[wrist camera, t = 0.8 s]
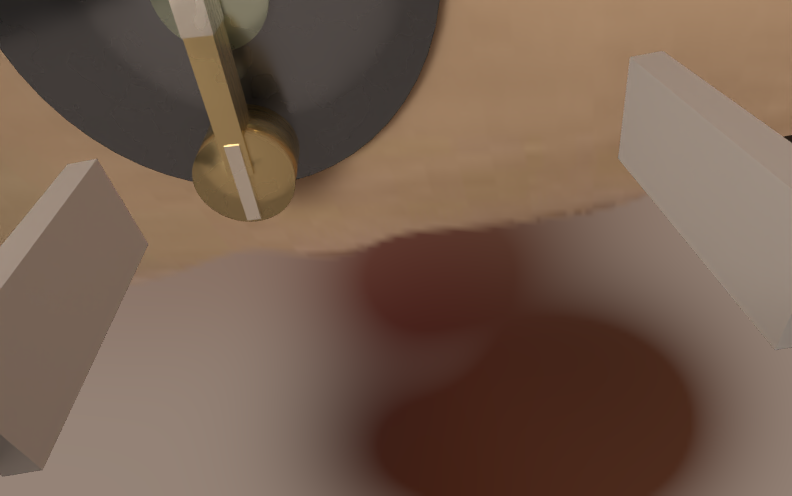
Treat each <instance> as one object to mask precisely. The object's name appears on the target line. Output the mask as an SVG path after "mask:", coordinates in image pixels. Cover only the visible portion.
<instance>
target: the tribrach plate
mask: <svg viewBox="0 0 792 496" xmlns="http://www.w3.org/2000/svg"><path fill="white" fill-rule="evenodd" d="M219 2H220V6H221V9H222V13H223V17H224V19H223V21H224V25H225V29H226V32H227V36H228V39H229V43H230V47H231V50H232V54H233V57H234V61H235V65H236V68H237V72H238V75H239V79H240V83H241V86H242V90H243V93H244V97H245V101H246V104H253V105H259V106H263V107H266V108H269V109H271V110H273V111H275V112H276V113H278V114H279V115H281V116H282V117H283V118H284V119H285V120H287V121H288V123H289V124H290V125H291V126H292V128H293V129H294V131H295V133H296V135H297V138H298V141H299V147H300V153H299V160H298V168H297V176H296V179H299V178H303V177H306V176H309V175H312V174H315V173H317V172H319V171H322V170H324V169H326V168H329V167H331V166H333V165H335V164H337V163H338V162H340V161H342V160H343V159H345V158H347V157H348V156H350V155H352V154H353V153H355V152H356V151H357V150H359V149H360V148H361V147H362V146H364V145H365V144H366V143H368V142H369V141H370V140H371V139H372V138H373V137H374V136H375V135H376V134H377V133H378V132H379V131H380V130H381V129H382V128H383V127H384V126H385V125H386V124H387V123H388V122H389V121H390V120H391V118H392V117H393V116H394V115H395V113H396V112H397V111H398V109H399V108H400V107H401V105H402V104H403V103H404V101H405V100H406V98H407V96H408V94H409V93H410V91H411V89H412V87H413V86H414V84H415V82H416V81H417V78H418V76H419V74H420V71H421V69H422V67H423V64H424V62H425V60H426V57H427V55H428V51H429V48H430V44H431V41H432V37H433V34H434V30H435V26H436V20H437V13H438V7H439V0H219ZM0 49H1V50H2V52H3V53H4V54H5V56H6V57H7V58H8V60H9V61H10V62H11V64H12V65H13V66H14V67H15V69H16V70H17V71H18V73H19V74H20V75H21V76H22V77H23V78H24V79H25V80H26V81H27V82H28V83H29V85H30V86H31V87H32V88H33V89H34V90H35V91H36V92H37V93H38V94H39V95H40V96H41V97H42V98H43V99H44V100H45V101H46V102H47V103H48V104H49V105H50V106H52V107H53V108H54V109H55V110H56V111H57V112H58V113H59V114H61V115H62V116H63V117H64V118H65V119H66V120H68V121H69V122H70V123H72V124H73V125H74V126H76V127H77V128H78V129H80V130H81V131H82V132H84V133H85V134H86V135H88V136H89V137H91V138H92V139H94V140H95V141H97V142H99V143H100V144H102V145H104V146H105V147H107V148H109V149H110V150H112V151H114V152H115V153H117V154H119V155H121V156H123V157H125V158H127V159H130V160H132V161H134V162H136V163H138V164H140V165H142V166H145V167H147V168H150V169H153V170H155V171H158V172H161V173H163V174H166V175H170V176H173V177H177V178H181V179H185V180H189V181H192V182H193V178H192V168H193V163H194V161H195V158H196V156H197V153H198V151H199V149H200V147H201V144H202V142H203V140H204V138H205V135H206V133H207V131H208V129H209V126H210V124H211V123H210V120H209V117H208V114H207V111H206V108H205V105H204V102H203V99H202V96H201V93H200V90H199V87H198V84H197V81H196V78H195V75H194V72H193V69H192V66H191V63H190V60H189V57H188V54H187V50H186V47H185V44H184V41H183V39H181V37H180V34H179V31H178V28H177V25H176V22H175V19H174V16H173V13H172V10H171V7H170V4H169V1H168V0H0Z"/></svg>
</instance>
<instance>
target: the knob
mask: <svg viewBox="0 0 792 496" xmlns="http://www.w3.org/2000/svg"><path fill="white" fill-rule="evenodd" d="M168 1H169V4H170V7H171V10H172V13H173V16H174V19H175V22H176V25H177V28H178V31H179V34H180V37H181V39H183V41H184V44H185V47H186V50H187V54H188V57H189V60H190V63H191V66H192V69H193V72H194V75H195V78H196V81H197V84H198V87H199V90H200V93H201V96H202V99H203V102H204V105H205V108H206V111H207V114H208V117H209V120H210V123H211V124H210V126H209V129H208V131H207V133H206V135H205V138H204V140H203V142H202V144H201V147H200V149H199V151H198V153H197V156H196V158H195V161H194V163H193V168H192V178H193V183H194V186H195V188H196V191H197V193H198V194H199V196H200V197H201V199H202V200H203V201H204V202H205V203H206V204H207V205H208V206H209V207H210V208H212V209H213V210H214V211H216V212H218V213H219V214H221V215H223V216H225V217H228V218H231V219H235V220H239V221H249V222H252V221H261V220H265V219H269V218H271V217H273V216H275V215H277V214H279V213H280V212H281V211H283V210H284V209H285V208H286V207H287V206H288V204H289V203H290V201H291V199H292V197H293V194H294V190H295V183H296V176H297V168H298V160H299V153H300V147H299V141H298V138H297V135H296V133H295V131H294V129H293V128H292V126H291V125H290V124H289V123H288V121H287V120H285V119H284V118H283V117H282V116H281V115H279V114H278V113H276V112H275V111H273V110H271V109H269V108H266V107H263V106H259V105H253V104H246V101H245V97H244V93H243V90H242V86H241V83H240V79H239V75H238V72H237V68H236V65H235V61H234V57H233V54H232V50H231V47H230V43H229V39H228V36H227V32H226V29H225V25H224V21H223V19H224V17H223V13H222V9H221V6H220V2H219V0H168Z"/></svg>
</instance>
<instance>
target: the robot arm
mask: <svg viewBox="0 0 792 496" xmlns="http://www.w3.org/2000/svg"><path fill="white" fill-rule="evenodd" d="M618 159H619V160H620V161H621V163H622V164H623V165H624V166H625V167H626V169H627V170H628V171H629V172H630V174H631V175H632V176H633V177H634V178H635V180H636V181H637V182H638V183H639V185H640V186H641V187H642V188H643V190H644V191H645V192H646V193H647V194H648V196H649V197H650V198H651V199H652V201H654V203H655V204H656V205H657V207H658V208H659V209H660V210H661V212H662V213H663V214H664V215H665V216H666V218H667V219H668V220H669V221H670V222H671V224H672V225H673V226H674V227H675V229H676V230H677V231H678V232H679V234H680V235H681V236H682V237H683V238H684V240H685V241H686V242H687V243H688V244H689V246H690V247H691V248H692V249H693V251H694V252H695V253H696V254H697V256H698V257H699V258H700V259H701V260H702V262H703V263H704V264H705V265H706V267H708V269H709V270H710V271H711V273H712V274H713V275H714V276H715V278H716V279H717V280H718V281H719V282H720V284H721V285H722V286H723V287H724V288H725V290H726V291H727V292H728V293H729V295H730V296H731V297H732V298H733V300H734V301H735V302H736V303H737V304H738V306H739V307H740V308H741V309H742V311H743V312H744V313H745V314H746V315H747V317H748V318H749V319H750V320H751V321H752V323H753V324H754V325H755V326H756V328H757V329H758V330H759V331H760V332H761V334H762V335H763V336H764V338H765V339H766V340H767V341H768V342H769V344H770V345H771V346H772V347H773V348H774V350H779V349H786V348H792V135H790V136H785V137H783V136H781V135H780V134H779V133H777V132H776V131H774V130H773V129H772V128H770V127H769V126H767V125H766V124H765V123H763V122H762V121H760V120H759V119H758V118H756V117H755V116H753V115H752V114H751V113H749V112H748V111H746V110H745V109H743V108H742V107H741V106H739V105H738V104H736V103H735V102H734V101H732V100H731V99H729V98H728V97H727V96H725V95H724V94H722V93H721V92H720V91H718V90H717V89H715V88H714V87H713V86H711V85H710V84H708V83H707V82H706V81H704V80H703V79H701V78H700V77H699V76H697V75H696V74H694V73H693V72H692V71H690V70H689V69H687V68H686V67H685V66H683V65H682V64H680V63H679V62H678V61H676V60H675V59H673V58H672V57H671V56H669V55H668V54H666V53H665V52H664V51H659V52H654V53H649V54H644V55H638V56H633V57H630V61H629V70H628V78H627V87H626V95H625V104H624V113H623V121H622V130H621V138H620V147H619V155H618ZM147 246H148V243H147V241H146V239H145V238H144V236H143V234H142V233H141V231H140V229H139V228H138V226H137V224H136V223H135V221H134V219H133V218H132V216H131V214H130V213H129V211H128V209H127V208H126V206H125V204H124V203H123V201H122V199H121V198H120V196H119V194H118V193H117V191H116V189H115V188H114V186H113V184H112V183H111V181H110V179H109V178H108V176H107V175H106V173H105V171H104V170H103V168H102V166H101V165H100V163H99V161H98V160H97V159H93V160H88V161H83V162H77V163H72V164H67V166H66V167H65V168H64V169H63V170H62V172H61V173H60V174H59V175H58V177H57V178H56V179H55V180H54V181H53V183H52V184H51V185H50V186H49V188H48V189H47V190H46V191H45V192H44V194H43V195H42V196H41V197H40V199H39V200H38V201H37V202H36V204H35V205H34V206H33V207H32V208H31V210H30V211H29V212H28V213H27V215H26V216H25V217H24V218H23V219H22V221H21V222H20V223H19V224H18V226H17V227H16V228H15V229H14V231H13V232H12V233H11V234H10V235H9V237H8V238H7V239H6V240H5V242H4V243H3V244H2V245H1V246H0V475H2V476H9V475H15V474H21V473H27V472H34V471H40V470H43V468H44V466H45V464H46V462H47V460H48V457H49V455H50V453H51V451H52V449H53V447H54V444H55V442H56V440H57V438H58V436H59V434H60V432H61V430H62V427H63V425H64V423H65V421H66V419H67V417H68V415H69V413H70V410H71V408H72V406H73V404H74V402H75V400H76V398H77V396H78V393H79V391H80V389H81V387H82V385H83V383H84V381H85V378H86V376H87V374H88V372H89V370H90V368H91V366H92V363H93V361H94V359H95V357H96V355H97V353H98V350H99V348H100V346H101V344H102V342H103V340H104V338H105V336H106V334H107V331H108V329H109V327H110V325H111V323H112V321H113V318H114V316H115V314H116V312H117V310H118V308H119V306H120V304H121V301H122V299H123V297H124V295H125V293H126V291H127V289H128V287H129V284H130V282H131V280H132V278H133V276H134V274H135V272H136V269H137V267H138V265H139V263H140V261H141V259H142V257H143V254H144V252H145V250H146V248H147Z"/></svg>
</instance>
